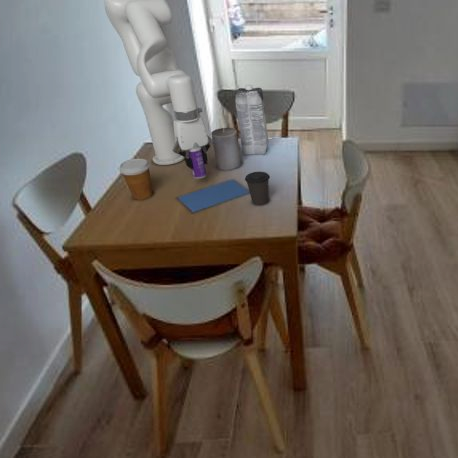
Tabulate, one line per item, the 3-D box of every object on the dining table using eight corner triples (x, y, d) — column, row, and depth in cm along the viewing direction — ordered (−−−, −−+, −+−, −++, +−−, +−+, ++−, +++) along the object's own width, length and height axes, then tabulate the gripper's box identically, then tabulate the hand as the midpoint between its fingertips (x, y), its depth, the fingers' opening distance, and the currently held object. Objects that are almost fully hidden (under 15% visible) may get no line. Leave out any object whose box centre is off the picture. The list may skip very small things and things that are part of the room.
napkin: (177, 198, 148) (177, 197, 148) (232, 180, 159) (232, 179, 159) (193, 212, 139) (192, 211, 139) (250, 192, 150) (249, 191, 150)
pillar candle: (224, 159, 175) (218, 123, 167) (246, 161, 173) (241, 125, 165) (212, 169, 167) (205, 132, 159) (235, 171, 165) (229, 134, 157)
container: (203, 179, 151) (194, 138, 143) (190, 178, 152) (181, 137, 144) (208, 173, 155) (201, 133, 147) (197, 172, 156) (188, 132, 148)
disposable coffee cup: (122, 199, 148) (111, 167, 141) (141, 187, 155) (132, 156, 149) (144, 203, 145) (134, 171, 138) (163, 191, 152) (154, 160, 146)
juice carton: (267, 155, 178) (259, 89, 163) (242, 156, 178) (232, 89, 163) (269, 147, 185) (262, 83, 171) (245, 147, 185) (236, 83, 170)
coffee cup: (265, 209, 140) (261, 181, 135) (243, 205, 143) (239, 178, 137) (276, 197, 147) (273, 171, 141) (255, 194, 149) (252, 167, 144)
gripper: (206, 106, 148) (215, 156, 158) (157, 117, 140) (170, 168, 149) (215, 111, 143) (224, 162, 153) (165, 123, 135) (178, 175, 144)
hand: (197, 165), depth 151 cm, fingers closed on container, 4 cm apart
